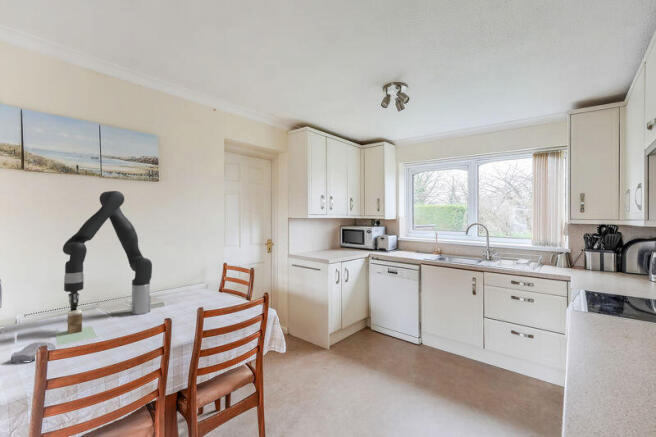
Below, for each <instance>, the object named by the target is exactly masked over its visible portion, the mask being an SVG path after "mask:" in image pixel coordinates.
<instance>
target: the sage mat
mask: <svg viewBox="0 0 656 437" xmlns="http://www.w3.org/2000/svg"><path fill="white" fill-rule="evenodd" d="M54 334H55V338H56V342H57V346H60V345H65V344H71V343H76V342H78V341H79V342H80V341H83V340H88V339H93V338H97V337H98V335H97V334H96V332H95V330H94V328H93V327H92V325H90V326H82V332H79V333H74V334H68V329H67V330H63V331H59V332H54Z"/></svg>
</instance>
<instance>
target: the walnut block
mask: <svg viewBox="0 0 656 437" xmlns="http://www.w3.org/2000/svg"><path fill="white" fill-rule="evenodd" d="M82 328H83V311H82V309H77V310H74V311H71V310H68V311H67V330H68V334H74V333H79V332H82Z"/></svg>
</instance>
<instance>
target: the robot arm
mask: <svg viewBox="0 0 656 437" xmlns="http://www.w3.org/2000/svg"><path fill="white" fill-rule="evenodd" d="M99 202H100V204H101V207H100V208H99V209H98V210H97V211H96V212H95V213H94V214H92V216H90V217H89V218H88V219H87V220H86V221H85V222H84V223H83V224H82V226H81V227H80V228H79V229H78V230H77V232H76V233H75V234H74V235H72V236H71V237H70V238H68V240H66V241H65V243H64V244H63V247H62V251H63V252H62V253H64V254H65V255H67V256H69V260H67V261H66V262H65V264H64V265H65V266H64V277H63V279H64V280H63V287H64V288H63V290H64V292H66V293H68V303H69V308H70V311H74V310H78V309H77V308H78V307H79V306H78V305H79V301H80V300H79V299H80V293H79V291H82V290H84V282H85V281H84V279H85V278H84V276H85V275H84V263H85V262H84V261H85V259H86V256H87V246H86V244H85V243H86V242H89V241H91V240H92V239H94V237H95V236H96V234H97V233H98V232H99V230H100V229H101V227H102V226H104V224H105V223H106V221H108V219H109V220H110V223H111V225H112V227H113V229H114V231H115V234H116V237H117V239H118V241H119V242H120V244H121V246H122V248H123V251H124V252H125V254H126V257H127V260H128V264H129V267H130V269H131V270H132V271H133V272H134V278H133V279H132V280H131V314H132V315H143V314H147V313H149V312H151V300H152V298H151V297H152V296H151V295H150V292H151V291H150V290H151V289H150V287H151V279H152V276H153V275H152V274H153V262H152V261H151V260H150V259H149V258H148V257H147V258H146V257H144V256H143V254H142V252H141V250H140V247H139V236H138V234H137V230H136V229H135V227H134V224H132V222H131V221H130V220H129V219H128V218H127V217H126V216H125V215H124V214H123V212H122V210H121V206H122V205H123V204H124V202H125V196H124V194H123V193H122V192H121V191H118V190H109V191H104V192H102V193H101V194H100V196H99Z"/></svg>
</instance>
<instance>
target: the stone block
mask: <svg viewBox="0 0 656 437" xmlns="http://www.w3.org/2000/svg"><path fill="white" fill-rule="evenodd" d="M43 345H48V349H49V350H53V349H54V350H56V344H54V343H52V342H51V343H50V342H47V341H44V342H43V341H40V342H39V341H38V342H33V343H30V344H28V345H27V346H25V347H24V348H23V349H21V350H20V351H19V350H18V351H17V352H13V353H12V354H11V357H10V362H11V363H12V364H15V362H21V363H24V362H23V361H31V360H34V361H36V360H35V355H36V350H37V348H38V347H40V346H43ZM54 350H53V351H54Z"/></svg>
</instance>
